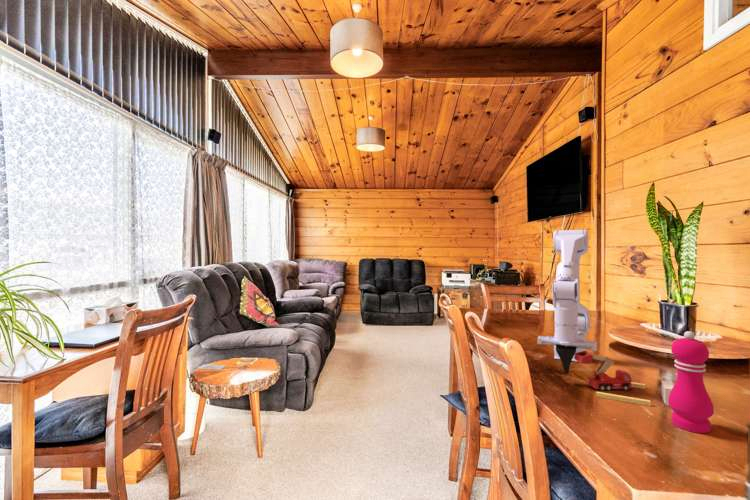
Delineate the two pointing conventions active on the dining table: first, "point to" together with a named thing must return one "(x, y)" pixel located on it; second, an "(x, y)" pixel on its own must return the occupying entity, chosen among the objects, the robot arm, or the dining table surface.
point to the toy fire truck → (601, 378)
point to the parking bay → (666, 391)
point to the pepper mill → (690, 386)
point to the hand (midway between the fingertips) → (566, 372)
